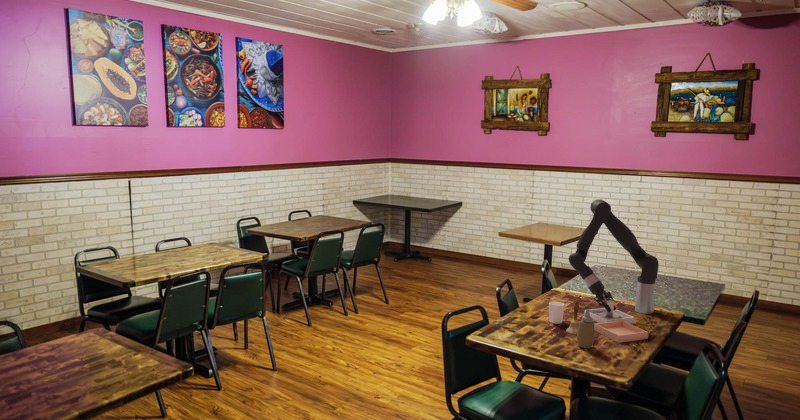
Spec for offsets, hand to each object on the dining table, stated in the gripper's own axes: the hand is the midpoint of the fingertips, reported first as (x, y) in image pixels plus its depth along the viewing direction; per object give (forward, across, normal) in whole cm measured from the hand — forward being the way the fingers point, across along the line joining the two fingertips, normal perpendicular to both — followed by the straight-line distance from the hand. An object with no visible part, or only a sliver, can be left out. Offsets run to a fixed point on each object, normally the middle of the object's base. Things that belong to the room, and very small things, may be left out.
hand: (612, 310), depth 303 cm
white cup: (-8, -26, +17) cm, 32 cm away
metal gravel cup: (+1, 0, +4) cm, 4 cm away
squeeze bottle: (+12, -45, -4) cm, 47 cm away
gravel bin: (+3, 0, +5) cm, 6 cm away
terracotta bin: (+14, -16, -6) cm, 22 cm away
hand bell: (+2, -32, +6) cm, 32 cm away
